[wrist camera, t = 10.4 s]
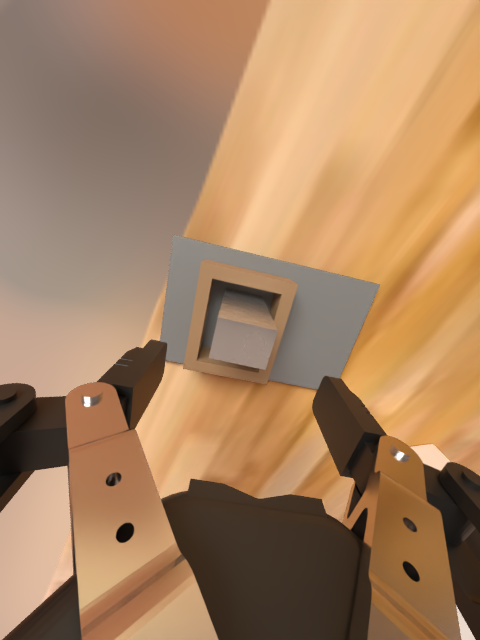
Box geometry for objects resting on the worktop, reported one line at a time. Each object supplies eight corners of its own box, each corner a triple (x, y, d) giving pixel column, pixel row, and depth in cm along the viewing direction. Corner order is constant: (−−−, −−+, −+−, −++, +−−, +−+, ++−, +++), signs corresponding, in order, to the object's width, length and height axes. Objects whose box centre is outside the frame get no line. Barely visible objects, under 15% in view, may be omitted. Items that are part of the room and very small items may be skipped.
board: (175, 235, 23) (162, 233, 19) (375, 283, 24) (402, 291, 21) (159, 355, 27) (146, 374, 23) (330, 388, 29) (345, 411, 25)
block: (225, 287, 24) (217, 317, 14) (261, 296, 24) (278, 330, 15) (214, 338, 26) (200, 394, 16) (248, 345, 26) (254, 404, 16)
